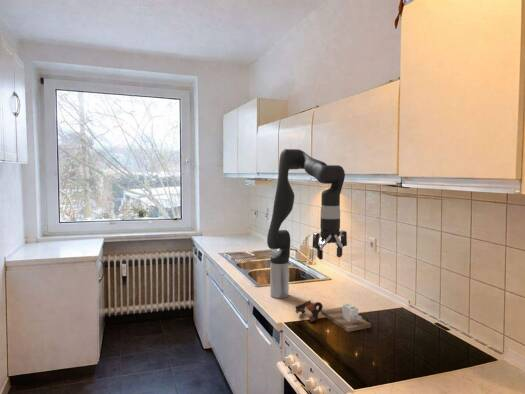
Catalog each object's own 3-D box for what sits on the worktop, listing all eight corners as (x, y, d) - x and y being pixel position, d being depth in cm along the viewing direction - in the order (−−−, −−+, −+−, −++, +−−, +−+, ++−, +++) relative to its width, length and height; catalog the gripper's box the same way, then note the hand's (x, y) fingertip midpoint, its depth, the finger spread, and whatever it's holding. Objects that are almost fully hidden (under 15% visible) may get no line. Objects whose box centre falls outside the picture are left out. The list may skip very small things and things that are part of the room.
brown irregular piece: (305, 325, 156) (297, 306, 159) (298, 326, 165) (290, 308, 167) (329, 313, 161) (321, 295, 163) (320, 315, 169) (313, 298, 171)
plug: (340, 316, 161) (340, 303, 160) (347, 315, 162) (347, 302, 162) (356, 325, 151) (356, 312, 150) (363, 324, 152) (363, 311, 152)
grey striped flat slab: (321, 313, 167) (321, 310, 167) (341, 310, 171) (341, 307, 171) (348, 331, 149) (348, 328, 149) (370, 327, 153) (370, 323, 153)
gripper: (340, 214, 153) (339, 254, 154) (309, 216, 147) (309, 257, 148) (351, 217, 146) (350, 258, 147) (319, 219, 140) (319, 262, 141)
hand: (329, 258), depth 148 cm, fingers open, 8 cm apart
